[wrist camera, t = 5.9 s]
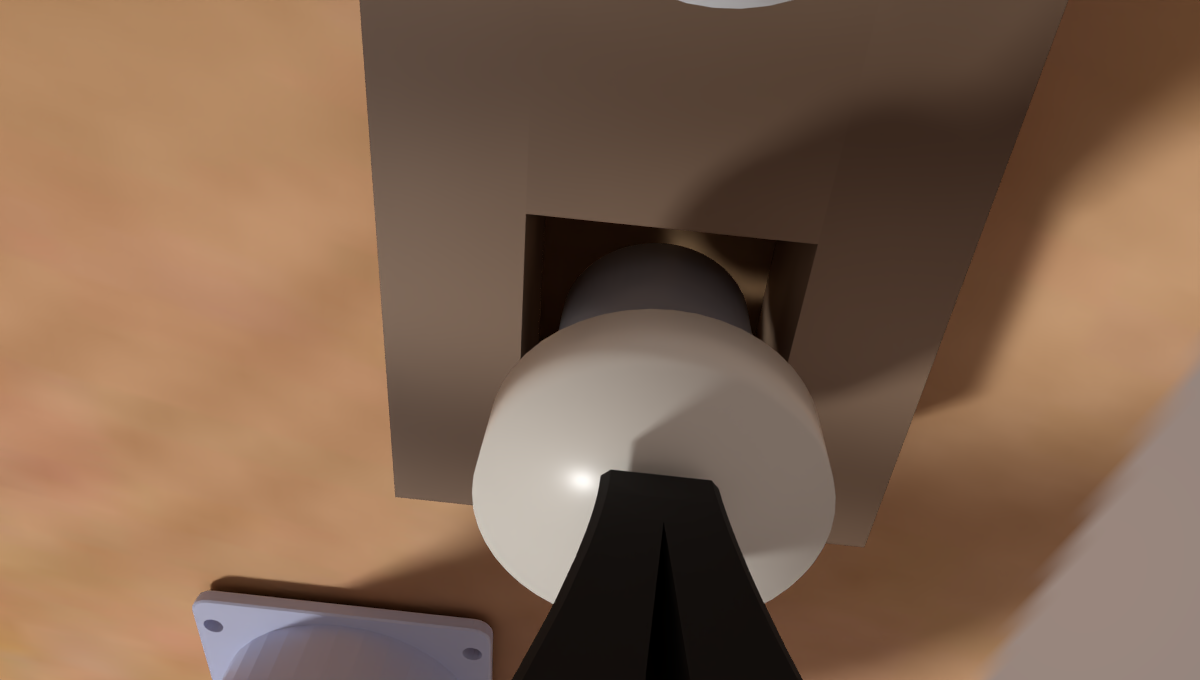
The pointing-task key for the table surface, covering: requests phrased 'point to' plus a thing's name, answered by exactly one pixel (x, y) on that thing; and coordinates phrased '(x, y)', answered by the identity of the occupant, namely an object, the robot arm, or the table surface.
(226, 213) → the table surface
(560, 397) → the knob
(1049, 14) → the knob mount
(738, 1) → the knob
